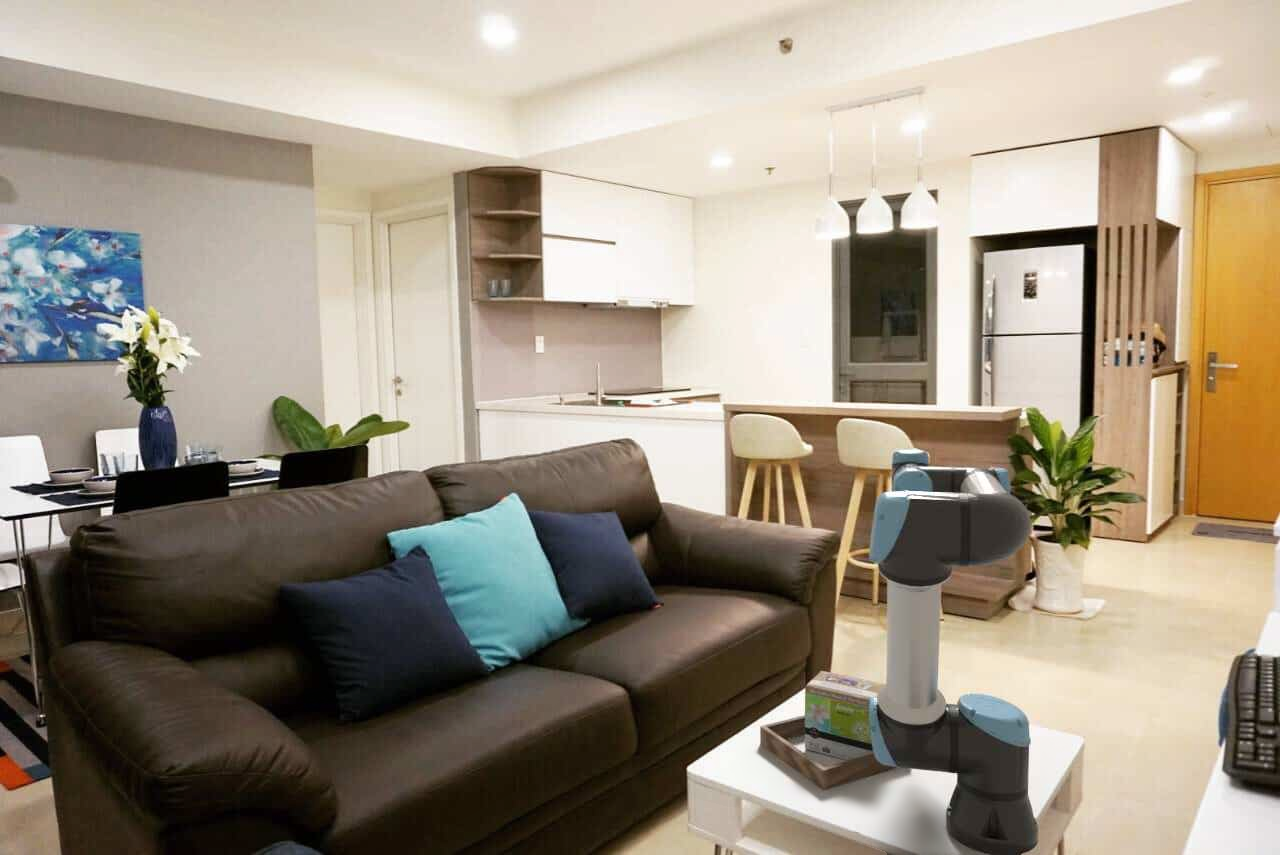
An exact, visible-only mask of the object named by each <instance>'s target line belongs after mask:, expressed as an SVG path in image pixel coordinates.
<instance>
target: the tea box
mask: <svg viewBox="0 0 1280 855" xmlns="http://www.w3.org/2000/svg"><path fill="white" fill-rule="evenodd" d="M885 684H886V683H881V682H877V681H872V680H867V679H862V678H857V677H852V676H848V675H843V674H839V673H835V672H829V671H824V670H820V671H819V673H818V674H815V676H814V677H813V678H812V679H811V680H810V681H809V682H808V683H807V684H806V685H805V687H804V688H805V689H804V715H805V735H804V750H806V751H812V752H816V753H820V754H824V755H827V756H831V757H834V758H839V759H842V760H845V761H848V760H851V759H855V758H858V757H862V756H865V755H869V754H873V753H874V752H873V747H872V740H871V729H870V719H869V703H870V699H871V698H873V697H877V696H878V692H879V690H880V689H881V687H882V686H884V685H885Z"/></svg>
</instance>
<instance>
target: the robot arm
mask: <svg viewBox="0 0 1280 855" xmlns="http://www.w3.org/2000/svg"><path fill="white" fill-rule="evenodd" d="M929 457H930V456H929V453H927V452H926V450H920V449H898V450H895V451H894V452H893V453H892V461H891V462H892V463H891V490H892V491H884V492H882V493H881V494H879V495H878V497H877V499H876V501H875V504H874V505H875V506H874V510H873V518H872V522H871V534H870V541H869V551H868V560H870V561H871V562H872V563H874V564H877V568H878V572H879V574H880V576H882V578H884V579H886V580H887V582H886V583H887V585H886V592H887V593H886V600H887V601H886V683H884V684H885V685H884V686H882V687H881V689H880V690H879V692H878V696H877V697H873V698H871V699H870V703H869V719H870V729H871V740H872V747H873V752H874V755H875V758H876V759H877V761H878V762H880V763H881V764H883V765H888V766H893V767H897V768H896V769H911V770H918V771H919V770H921V771H930V772H931V771H932V772H940V773H949V774H956V784H955V787H954V789H953V792H952V794H951V798H950V800H949V802H948V805H947V807H946V811H945V826H946V829H947V831H948V832H949V834H950V835H951V836H952V837H953V838H954V839H955V840H958V841H959V842H960V843H962V844H963V845H965V846H967V847H969V848H972V849H974V850H977V851H979V852H980V851H981V852H983V853H987V854H992V855H1022V854H1025V853H1028V852H1030V851H1032V850H1034V849H1035V848H1036V846H1037V845H1038V842H1039V825H1038V822H1037V819H1036V818H1035V816H1034V811H1033V807H1032V804H1031V800H1030V796H1029V773H1030V772H1029V767H1030V766H1029V765H1030V762H1029V760H1030V756H1029V755H1030V745H1031V742H1032V741H1031V738H1030V723H1029V720H1028V717H1027V715H1026V713H1024V711H1023V710H1022V709H1020V707H1018V706H1016V705H1014V704H1012V703H1011V702H1010V701H1008V700H1004V699H1002V698H998V697H996V696H992V695H989V694H982V693H970V694H967V693H966V694H963V695H961V696H960V697H959V698H958V700H957V702H956V704H954V703H947V701H946V698H945V696H944V695H943V693H942V692H941V691H940V690H939V689H938V686H939V685H938V684H939V661H940V660H939V658H940V656H939V655H940V654H939V653H940V635H941V634H940V632H941V606H942V605H941V603H942V585H943V584H944V583H945V582H947V581H948V580H950V578H951V576H952V573H953V567H967V568H968V567H971V568H972V567H973V568H974V567H975V568H976V567H977V568H978V567H984V566H985V567H986V566H991V565H994V564H997V563H1001V562H1002V561H1004V560H1007V559H1008V558H1010V557H1011V556H1014V555H1015V554H1016V553H1017V552H1018V551H1020V550H1021V548H1023V547H1024V545H1025V544H1026V542H1027V540H1028V539H1029V536H1030V534H1031V531H1032V530H1031V529H1032V520H1031V516H1030V513H1029V511H1028V509H1027V508H1026V506H1025V505H1024V503H1023V502H1022V500H1020V499H1019V498H1018V497H1016V496H1015V495H1013V494H1011V479H1010V473H1009V471H1008V470H1007V469H1006V468H1002V467H993V466H986V467H976V466H975V467H969V466H968V467H966V466H965V467H964V466H963V467H961V466H960V467H959V466H958V467H955V466H930V463H929Z"/></svg>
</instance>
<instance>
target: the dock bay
mask: <svg viewBox="0 0 1280 855" xmlns="http://www.w3.org/2000/svg"><path fill="white" fill-rule="evenodd" d="M759 728H760V729H759V730H760V731H759V732H760V733H759V737H760V739H759V740H760V742H759V743H760V745H762V747H764V748H765V749H766V750H768V751H769V752H770V753H772V754H774V755H775V756H776V757H778V758H779V759H780V760H782V761H783V762H785V763H786V764H787V765H789V766H790V767H791V768H792V769H794V770H795V771H796V772H798V773H800V775H802V776H803V777H805V778H806V779H808V781H810V782H811V783H813V784H814V785H816V787H819V788H820V789H821V790H822V791H825V790H828V789H832V788H836V787H840V786H842V785H845V784H849V783H853V782H856V781H860V780H862V778H863V779H866V778H870V777H872V776H876V775H878V774H879V775H881V774H882V773H886V772H889V771H892V770H896V769H898V768H897V767H893V766H888V765H883V764H881V763H880V762H878V761H877V759H876V758H875V755H874V753H873V754H869V755H865V756H862V757H858V758H855V759H851V760H845V761H841V762H837V763H833V764H831V765H828V766H823V765H822V764H821V763H819V762H818V761H816V760H815V759H814V758H812V757H810V756H809V755H808V754H806V753H805V752H803V751H802V750H801V749H799V748H797V747H796V746H794V745H793V744H792V743H791V742H790V741H788V740H790V739H789V738H791V739H794V738H793V737H795V738H797V736H799V737H802V736H801V735H803V736H805V714H804V715H800V716H797V717H796V716H795V717H791V718H788V719H785V720H780V721H775V722H772V723H767V724H765V725H764V724H763V725H761V726H759ZM786 739H787V740H786ZM852 781H853V782H852Z"/></svg>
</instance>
